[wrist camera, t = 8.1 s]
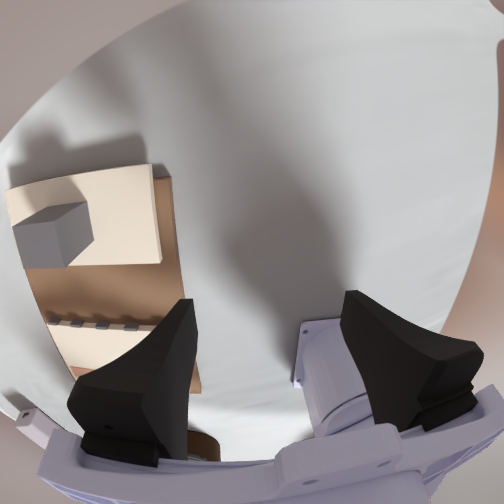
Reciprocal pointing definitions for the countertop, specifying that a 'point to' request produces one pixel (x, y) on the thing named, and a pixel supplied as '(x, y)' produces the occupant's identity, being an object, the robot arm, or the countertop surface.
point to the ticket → (94, 342)
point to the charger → (36, 426)
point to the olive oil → (202, 447)
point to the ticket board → (118, 283)
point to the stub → (86, 219)
